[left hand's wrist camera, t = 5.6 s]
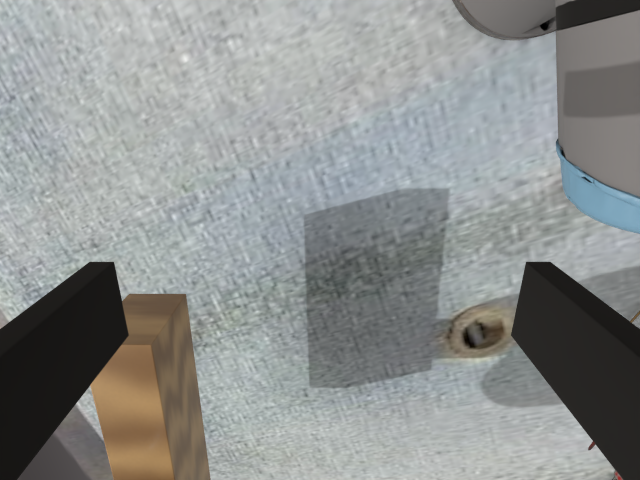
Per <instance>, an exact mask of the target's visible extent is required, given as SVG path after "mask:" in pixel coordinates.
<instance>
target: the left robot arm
mask: <svg viewBox="0 0 640 480" xmlns="http://www.w3.org/2000/svg"><path fill="white" fill-rule="evenodd" d="M453 2H454V4H455V6H456V8H457V9H458V11H459V12H460V14H461V15H462V16H463V17H464V19H465V20H466V21H467V22H468V23H469V24H471V25H472V26H473V27H474V28H476V29H477V30H479V31H480V32H482V33H484V34H486V35H488V36H491V37H494V38H498V39H503V40H524V39H529V38H533V37H537V36H542V35H545V34H548V33H551V32H553V31H555V30H557V31H556V57H557V101H558V139H557V141H556V151H557V154H558V156H559V158H560V161H561V173H562V184H563V189H564V192H565V194H566V196H567V198H568V199H569V200H570V201H571V202H572V203H573V204H574V205H576V207H577V209H579V210H580V211H581V212H583V213H584V214H586V215H588V216H589V217H591V218H593V219H595V220H597V221H599V222H602V223H604V224H607V225H609V226H612V227H615V228H619V229H622V230H626V231H630V232H634V233H639V234H640V0H453ZM560 29H561V30H560ZM128 336H129V333H128V328H127V324H126V319H125V314H124V309H123V304H122V299H121V294H120V290H119V285H118V280H117V275H116V270H115V265H114V262H89V263H88V264H86V265H85V266H84V267H82V268H81V269H80V270H78V271H77V272H76V273H74V274H73V275H72V276H70V277H69V278H68V279H66V280H65V281H64V282H62V283H61V284H60V285H58V286H57V287H56V288H54V289H53V290H52V291H50V292H49V293H48V294H46V295H45V296H44V297H42V298H41V299H40V300H38V301H37V302H36V303H34V304H33V305H32V306H30V307H29V308H28V309H26V310H25V311H24V312H22V313H21V314H20V315H18V316H17V317H16V318H14V319H13V320H12V321H10V322H9V323H8V324H6V325H5V326H4V327H2V328H1V329H0V480H17V479H18V478H19V476H20V475H21V474H22V472H23V471H24V470H25V469H26V467H27V466H28V465H29V463H30V462H31V461H32V459H33V458H34V457H35V456H36V454H37V453H38V452H39V450H40V449H41V448H42V447H43V445H44V444H45V443H46V441H47V440H48V439H49V438H50V436H51V435H52V434H53V432H54V431H55V430H56V429H57V427H58V426H59V425H60V423H61V422H62V421H63V420H64V418H65V417H66V416H67V414H68V413H69V412H70V411H71V409H72V408H73V407H74V405H75V404H76V403H77V402H78V400H79V399H80V398H81V396H82V395H83V394H84V393H85V391H86V390H87V389H88V387H89V386H90V385H91V384H92V382H93V381H94V380H95V378H96V377H97V376H98V374H99V373H100V372H101V371H102V369H103V368H104V367H105V365H106V364H107V363H108V362H109V360H110V359H111V358H112V356H113V355H114V354H115V353H116V351H117V350H118V349H119V347H120V346H121V345H122V344H123V342H124V341H125V340H126V338H127V337H128ZM511 336H512V337H513V338H514V340H515V341H516V342H517V344H518V345H519V346H520V347H521V349H522V350H523V351H524V353H525V354H526V355H527V356H528V358H529V359H530V360H531V362H532V363H533V364H534V365H535V367H536V368H537V369H538V371H539V372H540V373H541V374H542V376H543V377H544V378H545V380H546V381H547V382H548V384H549V385H550V386H551V387H552V389H553V390H554V391H555V393H556V394H557V395H558V396H559V398H560V399H561V400H562V402H563V403H564V404H565V405H566V407H567V408H568V409H569V411H570V412H571V413H572V414H573V416H574V417H575V418H576V420H577V421H578V422H579V423H580V425H581V426H582V427H583V429H584V430H585V431H586V432H587V434H588V435H589V436H590V438H591V439H592V440H593V441H594V443H595V444H596V445H597V447H598V448H599V449H600V450H601V452H602V453H603V454H604V456H605V457H606V458H607V460H608V461H609V462H610V463H611V465H612V466H613V467H614V469H615V470H616V471H617V472H618V474H619V475H620V476H621V478H622V479H623V480H640V329H639V328H638V327H636V326H635V325H634V324H632V323H631V322H630V321H628V320H627V319H626V318H624V317H623V316H622V315H620V314H619V313H618V312H616V311H615V310H614V309H612V308H611V307H610V306H608V305H607V304H606V303H604V302H603V301H602V300H600V299H599V298H598V297H596V296H595V295H594V294H592V293H591V292H590V291H588V290H587V289H586V288H584V287H583V286H582V285H580V284H579V283H578V282H576V281H575V280H574V279H572V278H571V277H570V276H568V275H567V274H566V273H564V272H563V271H562V270H560V269H559V268H558V267H556V266H555V265H554V264H552V263H551V262H526V265H525V270H524V275H523V280H522V285H521V289H520V294H519V299H518V304H517V309H516V314H515V319H514V324H513V328H512V333H511Z"/></svg>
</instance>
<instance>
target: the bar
mask: <svg viewBox="0 0 640 480" xmlns="http://www.w3.org/2000/svg"><path fill="white" fill-rule="evenodd" d="M122 304H123V309H124V314H125V319H126V324H127V328H128V333H129V336H128V337H127V338H126V340H125V341H124V342H123V344H122V345H121V346H120V347H119V349H118V350H117V351H116V353H115V354H114V355H113V356H112V358H111V359H110V360H109V362H108V363H107V364H106V365H105V367H104V368H103V369H102V371H101V372H100V373H99V374H98V376H97V377H96V378H95V380H94V381H93V382H92V384H91V385H90V386H91V390H92V394H93V398H94V402H95V406H96V410H97V414H98V418H99V422H100V426H101V430H102V434H103V438H104V442H105V446H106V450H107V454H108V458H109V462H110V466H111V470H112V474H113V478H114V480H210V473H209V465H208V458H207V450H206V442H205V435H204V427H203V420H202V412H201V405H200V397H199V389H198V382H197V374H196V367H195V359H194V352H193V344H192V336H191V329H190V321H189V314H188V306H187V299H186V294H129V295H128V296H127V297H126V298H125V299H124V300H123V301H122Z"/></svg>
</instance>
